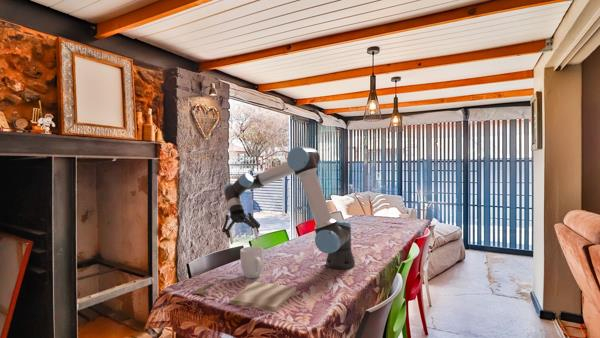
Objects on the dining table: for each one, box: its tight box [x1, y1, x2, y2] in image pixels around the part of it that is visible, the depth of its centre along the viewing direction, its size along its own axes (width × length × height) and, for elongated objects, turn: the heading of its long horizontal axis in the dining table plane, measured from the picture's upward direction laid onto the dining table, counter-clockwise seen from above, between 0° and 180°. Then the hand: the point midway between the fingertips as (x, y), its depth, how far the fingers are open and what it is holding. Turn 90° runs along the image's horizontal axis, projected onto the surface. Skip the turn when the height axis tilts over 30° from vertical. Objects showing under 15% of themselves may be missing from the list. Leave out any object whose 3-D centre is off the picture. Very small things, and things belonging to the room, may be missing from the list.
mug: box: [239, 245, 265, 279], centre depth 154 cm, size 15×11×13 cm
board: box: [228, 281, 297, 312], centre depth 131 cm, size 20×20×2 cm
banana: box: [191, 277, 225, 297], centre depth 143 cm, size 9×20×2 cm, turn 175°
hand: (245, 240), depth 164 cm, fingers open, 13 cm apart
